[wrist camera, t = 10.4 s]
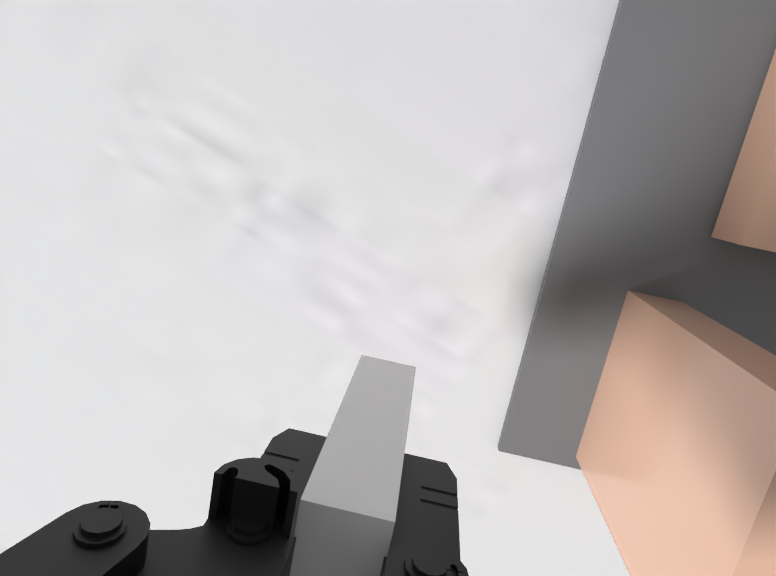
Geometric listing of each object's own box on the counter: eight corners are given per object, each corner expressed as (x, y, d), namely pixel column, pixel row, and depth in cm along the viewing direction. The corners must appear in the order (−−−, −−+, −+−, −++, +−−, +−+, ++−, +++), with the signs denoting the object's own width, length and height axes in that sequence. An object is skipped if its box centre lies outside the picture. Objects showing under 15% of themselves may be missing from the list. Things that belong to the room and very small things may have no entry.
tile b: (627, 290, 20) (801, 408, 10) (686, 302, 20) (916, 433, 10) (575, 456, 22) (682, 692, 12) (629, 468, 22) (781, 716, 12)
